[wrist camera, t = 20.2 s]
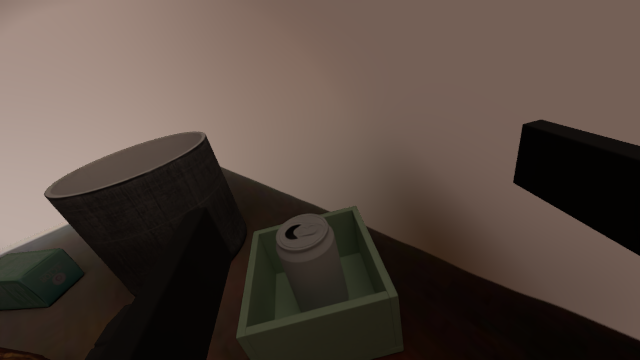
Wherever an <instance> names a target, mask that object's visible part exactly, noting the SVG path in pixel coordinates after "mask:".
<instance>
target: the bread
mask: <svg viewBox="0 0 640 360" xmlns="http://www.w3.org/2000/svg"><path fill="white" fill-rule="evenodd" d="M0 360H50V359H47V358H45V357H44V356H43V355H38V354H33V353H29V352H24V351H17V350H12V349H6V348H1V347H0Z"/></svg>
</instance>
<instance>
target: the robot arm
mask: <svg viewBox="0 0 640 360" xmlns="http://www.w3.org/2000/svg"><path fill="white" fill-rule="evenodd" d="M513 183H515V184H516V185H518V186H520V187H522V188H523V189H525V190H527V191H529V192H530V193H532V194H534V195H535V196H538V197H539V198H541V199H542V200H544V201H546V202H548V203H549V204H551V205H553V206H554V207H556V208H558V209H560V210H561V211H563V212H565V213H567V214H568V215H570V216H572V217H573V218H575V219H577V220H579V221H580V222H582V223H584V224H586V225H587V226H589V227H591V228H592V229H594V230H596V231H598V232H600V233H601V234H603V235H605V236H606V237H608V238H610V239H611V240H613V241H615V242H617V243H619V244H620V245H622V246H624V247H625V248H627V249H629V250H631V251H633V252H634V253H636V254H638V255H639V256H640V146H638V145H634V144H630V143H626V142H622V141H619V140H615V139H612V138H608V137H604V136H600V135H597V134H593V133H589V132H585V131H582V130H578V129H574V128H571V127H567V126H563V125H559V124H556V123H552V122H548V121H544V120H538V121H534V122H530V123H526V124H523V127H522V133H521V138H520V144H519V151H518V157H517V162H516V168H515V175H514V181H513ZM231 260H232V254H231V252H230V250H229V248H228V247H227V245H226V243H225V241H224V239H223V237H222V235H221V234H220V232H219V230H218V228H217V226H216V224H215V222H214V220H213V219H212V217H211V215H210V213H209V211H208V209H207V207H203V208H199V209H195V210H191V211H187V213H186V215H185V216H184V218H183V220H182V221H181V223H180V225H179V226H178V228H177V230H176V231H175V233H174V235H173V236H172V238H171V239H170V241H169V243H168V244H167V246H166V248H165V249H164V251H163V253H162V254H161V256H160V258H159V259H158V261H157V263H156V264H155V266H154V268H153V269H152V271H151V273H150V274H149V276H148V277H147V279H146V281H145V282H144V284H143V286H142V287H141V289H140V291H139V292H138V294H137V296H136V297H135V299H134V301H133V302H132V304H129V305H126V306H124V307H123V309H122V310H121V311H120V312H119V313H118V314H117V315H116V316H115V317H114V318H113V319H112V320H111V321H110V322H109V323H108V324H107V326H106V327H105V329H104V331H103V332H102V334H101V335H100V337H99V338H98V340H97V341H96V343H95V344H94V345H95V347H94V348H93V349H91V351H90V352H89V354H88V355H87V357H86V358H85V360H206V358H207V354H208V350H209V346H210V342H211V338H212V334H213V331H214V327H215V323H216V319H217V315H218V311H219V307H220V303H221V299H222V295H223V291H224V287H225V283H226V280H227V276H228V272H229V268H230V264H231Z"/></svg>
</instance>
